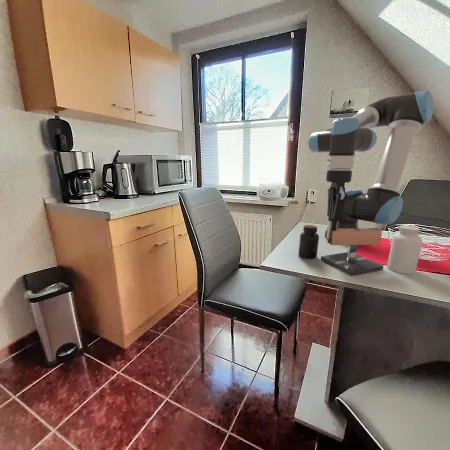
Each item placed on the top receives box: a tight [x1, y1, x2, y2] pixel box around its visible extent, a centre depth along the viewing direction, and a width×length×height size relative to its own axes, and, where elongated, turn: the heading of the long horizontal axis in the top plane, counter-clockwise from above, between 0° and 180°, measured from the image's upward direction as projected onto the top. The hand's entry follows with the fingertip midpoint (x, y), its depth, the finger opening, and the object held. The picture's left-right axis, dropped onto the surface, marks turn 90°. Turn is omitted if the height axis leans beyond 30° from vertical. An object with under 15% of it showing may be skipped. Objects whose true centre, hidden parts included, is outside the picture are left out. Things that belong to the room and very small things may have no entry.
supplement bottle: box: [298, 224, 320, 260], centre depth 93 cm, size 7×7×12 cm
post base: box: [320, 250, 384, 277], centre depth 87 cm, size 14×14×5 cm
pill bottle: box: [386, 224, 423, 275], centre depth 82 cm, size 8×8×15 cm
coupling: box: [327, 227, 383, 253], centre depth 85 cm, size 3×17×8 cm, turn 93°
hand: (331, 238), depth 86 cm, fingers closed
